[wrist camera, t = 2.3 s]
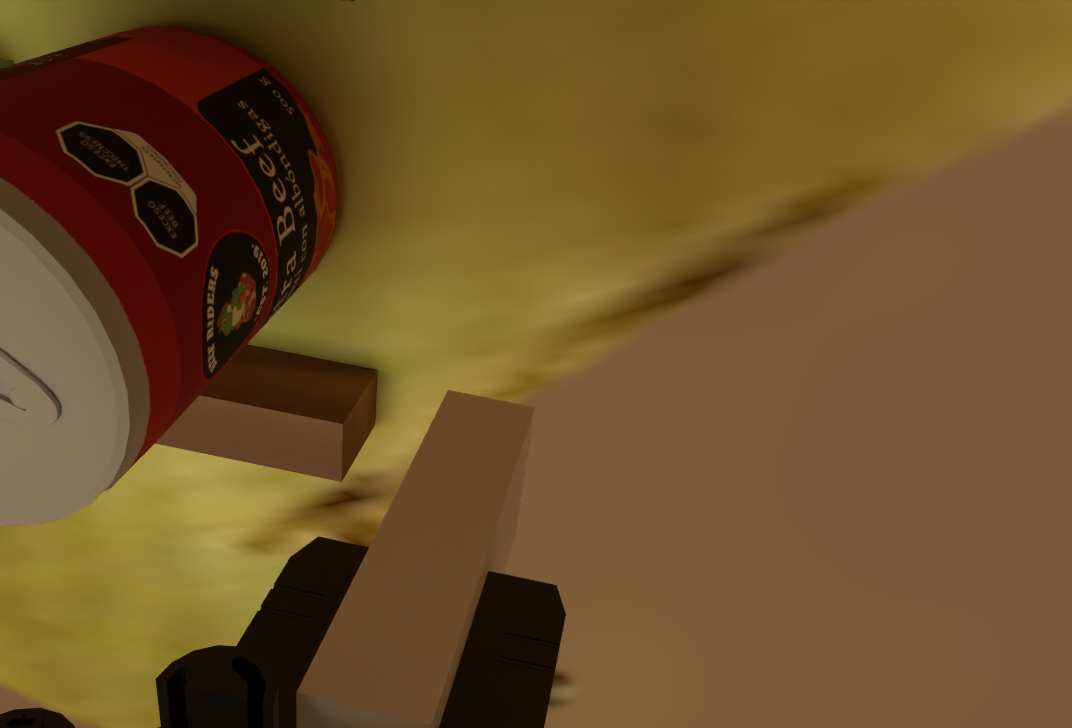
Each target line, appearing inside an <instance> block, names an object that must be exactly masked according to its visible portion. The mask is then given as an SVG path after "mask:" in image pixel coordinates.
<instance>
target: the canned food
mask: <svg viewBox="0 0 1072 728" xmlns="http://www.w3.org/2000/svg"><path fill="white" fill-rule="evenodd" d="M337 195H338V186H337V179H336V171H335V164H334V161H333V158H332V155H331V152H330V149H329V146H328V143H327V140H326V137H325V135H324V133H323V131H322V130H321V128H320V126H319V124H318V122H317V120H316V118H315V117H314V115H313V113H312V111H311V110H310V109H309V107H308V106H307V105H306V103H305V102H304V101H303V100H302V98H301V97H300V96H299V94H298V93H297V92H296V91H295V89H294V88H293V87H292V86H291V85H290V84H289V83H288V82H287V81H286V80H284V79H283V78H282V77H281V76H280V75H279V74H278V73H277V72H276V71H275V70H274V69H273V68H272V67H270V66H269V65H267V64H266V63H264V62H263V61H261V60H260V59H258V58H257V57H255V56H254V55H252V54H251V53H249V52H248V51H246V50H244V49H242V48H240V47H237V46H235V45H233V44H231V43H228V42H226V41H224V40H222V39H219V38H215V37H211V36H207V35H203V34H199V33H195V32H191V31H187V30H183V29H178V28H164V27H144V28H139V29H134V30H129V31H123V32H119V33H116V34H113V35H109V36H106V37H103V38H99V39H96V40H93V41H89V42H86V43H83V44H80V45H76V46H73V47H70V48H66V49H63V50H60V51H57V52H53V53H50V54H47V55H43V56H40V57H37V58H33V59H30V60H27V61H24V62H20V63H17V64H14V65H10V66H7V67H4V68H0V525H1V526H15V525H35V524H41V523H45V522H49V521H52V520H56V519H60V518H64V517H67V516H69V515H71V514H73V513H75V512H76V511H78V510H80V509H82V508H84V507H85V506H87V505H89V504H91V503H92V502H93V501H94V500H95V499H96V498H97V497H98V496H99V495H100V494H101V493H102V492H104V491H106V490H108V489H109V488H111V487H112V486H113V485H114V484H115V483H116V482H117V481H118V480H119V479H120V478H121V477H122V476H123V475H124V474H125V473H126V472H127V471H128V470H129V469H130V468H131V467H132V466H133V465H134V464H135V463H136V462H137V460H138V459H139V458H141V457H142V456H143V455H144V454H145V453H146V452H147V451H148V450H149V449H150V448H151V447H152V446H153V445H154V444H155V443H156V442H157V441H158V440H159V439H160V438H161V437H162V435H163V434H164V433H165V432H166V431H167V430H168V429H169V428H170V427H171V426H172V425H173V424H174V422H175V421H176V420H177V419H178V418H179V417H180V416H181V415H182V414H183V413H184V412H185V411H186V409H187V408H188V407H189V406H190V405H191V404H192V403H193V402H194V401H195V400H196V399H197V397H198V396H199V395H200V394H201V393H202V392H203V391H204V390H205V389H206V388H207V387H208V386H209V384H210V383H211V382H212V381H213V380H214V379H215V378H216V377H217V376H218V375H219V374H220V373H221V371H222V370H223V369H224V368H225V367H226V366H227V365H228V364H229V363H230V362H231V361H232V360H233V358H234V357H235V356H236V355H237V354H238V353H239V352H240V351H241V350H242V349H243V348H244V346H245V345H246V344H247V343H248V342H249V341H250V340H251V339H252V338H253V337H254V336H255V335H256V333H257V332H258V331H259V330H260V329H261V328H262V327H263V326H264V325H265V324H266V323H267V322H268V320H269V319H270V318H271V317H272V316H273V315H274V314H275V313H276V312H277V311H278V310H279V309H280V307H281V306H282V305H283V304H284V303H285V302H286V301H287V300H288V299H289V298H290V297H291V296H292V294H293V293H294V292H295V291H296V290H297V289H298V288H299V287H300V286H301V285H302V284H303V282H304V281H305V280H306V279H307V278H308V277H309V276H310V275H311V274H312V273H313V272H314V271H315V269H316V268H317V266H318V265H319V263H320V261H321V259H322V258H323V256H324V254H325V252H326V251H327V249H328V246H329V242H330V239H331V235H332V232H333V229H334V225H335V218H336V211H337Z"/></svg>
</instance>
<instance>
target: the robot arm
mask: <svg viewBox="0 0 1072 728" xmlns="http://www.w3.org/2000/svg"><path fill="white" fill-rule="evenodd" d="M534 409H535V407H531V406H526V405H521V404H516V403H511V402H506V401H501V400H496V399H491V398H486V397H481V396H476V395H471V394H466V393H460V392H455V391H450V390H448V391H447V393H446V395H445V397H444V399H443V401H442V403H441V405H440V407H439V409H438V411H437V413H436V415H435V417H434V419H433V421H432V423H431V425H430V427H429V429H428V431H427V433H426V435H425V437H424V439H423V441H422V443H421V445H420V447H419V449H418V451H417V453H416V455H415V457H414V459H413V461H412V463H411V465H410V467H409V469H408V471H407V473H406V475H405V477H404V479H403V481H402V483H401V485H400V487H399V489H398V491H397V493H396V495H395V497H394V499H393V501H392V503H391V505H390V507H389V509H388V511H387V513H386V515H385V517H384V519H383V521H382V523H381V525H380V527H379V529H378V531H377V533H376V535H375V537H374V539H373V541H372V543H371V545H370V547H365V546H360V545H355V544H351V543H346V542H341V541H337V540H332V539H327V538H323V537H317V538H316V539H314V540H313V541H312V542H310V543H309V544H308V545H306V546H305V547H304V548H302V549H301V550H299V551H298V552H297V553H295V554H294V555H293V556H291V557H290V559H289V560H288V562H287V564H286V565H285V567H284V569H283V570H282V572H281V574H280V575H279V577H278V578H277V580H276V582H275V583H274V588H273V589H271V590H270V592H269V593H268V595H267V597H266V598H265V600H264V601H263V603H262V605H261V609H260V611H257V613H256V615H255V616H254V618H253V620H252V621H251V623H250V624H249V626H248V628H247V629H246V631H245V633H244V634H243V636H242V638H241V639H240V641H239V643H238V644H237V646H221V645H217V646H213V647H208V648H204V649H199V650H195V651H192V652H190V653H189V654H187V655H185V656H183V657H181V658H179V659H177V660H175V661H174V662H172V663H171V664H170V665H169V666H168V667H167V668H166V669H165V670H164V671H163V672H162V673H161V674H160V675H159V676H158V677H157V678H156V687H157V695H158V704H159V713H160V722H161V727H159V728H544V724H545V719H546V714H547V709H548V704H549V699H550V694H551V688H552V683H553V678H554V673H555V668H556V663H557V657H558V652H559V647H560V642H561V637H562V632H563V626H564V621H565V616H566V613H565V610H564V607H563V604H562V601H561V598H560V595H559V591H558V588H557V585H553V584H548V583H543V582H539V581H534V580H529V579H525V578H520V577H515V576H511V575H506V574H504V573H505V569H506V566H507V562H508V559H509V555H510V552H511V549H512V545H513V542H514V538H515V535H516V530H517V524H518V516H519V510H520V503H521V496H522V489H523V483H524V476H525V469H526V463H527V456H528V449H529V443H530V436H531V429H532V422H533V415H534ZM0 728H75V726H74V725H73V724H72V723H71V722H70V721H69V720H67V719H66V718H65V717H64V716H63V715H62V714H60V713H57V712H53V711H50V710H46V709H43V708H30V709H15V710H12V711H9V712H6V713H3V714H0Z"/></svg>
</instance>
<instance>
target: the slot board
mask: <svg viewBox="0 0 1072 728" xmlns="http://www.w3.org/2000/svg"><path fill="white" fill-rule="evenodd" d="M344 1H350V2H352V1H354V0H344ZM376 385H377V371H376V370H371V369H366V368H361V367H356V366H351V365H346V364H340V363H335V362H330V361H325V360H320V359H315V358H310V357H305V356H300V355H295V354H289V353H284V352H279V351H274V350H269V349H264V348H259V347H254V346H249V345H245V346H244V348H243V349H242V350H241V351H240V352H239V353H238V354H237V355H236V356H235V357H234V358H233V360H232V361H231V362H230V363H229V364H228V365H227V366H226V367H225V368H224V369H223V370H222V371H221V373H220V374H219V375H218V376H217V377H216V378H215V379H214V380H213V381H212V382H211V383H210V384H209V386H208V387H207V388H206V389H205V390H204V391H203V392H202V393H201V394H200V395H199V396H198V397H197V399H196V400H195V401H194V402H193V403H192V404H191V405H190V406H189V407H188V408H187V409H186V411H185V412H184V413H183V414H182V415H181V416H180V417H179V418H178V419H177V420H176V421H175V422H174V424H173V425H172V426H171V427H170V428H169V429H168V430H167V431H166V432H165V433H164V434H163V435H162V437H161V438H160V439H159V440H158V441H157V442H156V444H161V445H166V446H171V447H175V448H180V449H185V450H190V451H195V452H200V453H204V454H209V455H214V456H219V457H224V458H229V459H234V460H238V461H243V462H248V463H253V464H258V465H263V466H267V467H272V468H277V469H282V470H287V471H292V472H296V473H301V474H306V475H311V476H316V477H321V478H325V479H330V480H335V481H340V482H342V480H343V479H344V477H345V475H346V474H347V472H348V470H349V468H350V467H351V465H352V463H353V462H354V460H355V458H356V456H357V455H358V453H359V451H360V450H361V448H362V446H363V444H364V443H365V441H366V439H367V438H368V436H369V434H370V432H371V431H372V429H373V427H374V426H375V410H376Z"/></svg>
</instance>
